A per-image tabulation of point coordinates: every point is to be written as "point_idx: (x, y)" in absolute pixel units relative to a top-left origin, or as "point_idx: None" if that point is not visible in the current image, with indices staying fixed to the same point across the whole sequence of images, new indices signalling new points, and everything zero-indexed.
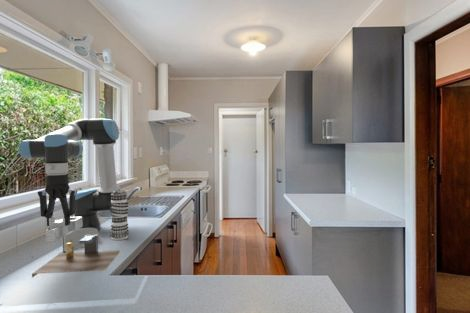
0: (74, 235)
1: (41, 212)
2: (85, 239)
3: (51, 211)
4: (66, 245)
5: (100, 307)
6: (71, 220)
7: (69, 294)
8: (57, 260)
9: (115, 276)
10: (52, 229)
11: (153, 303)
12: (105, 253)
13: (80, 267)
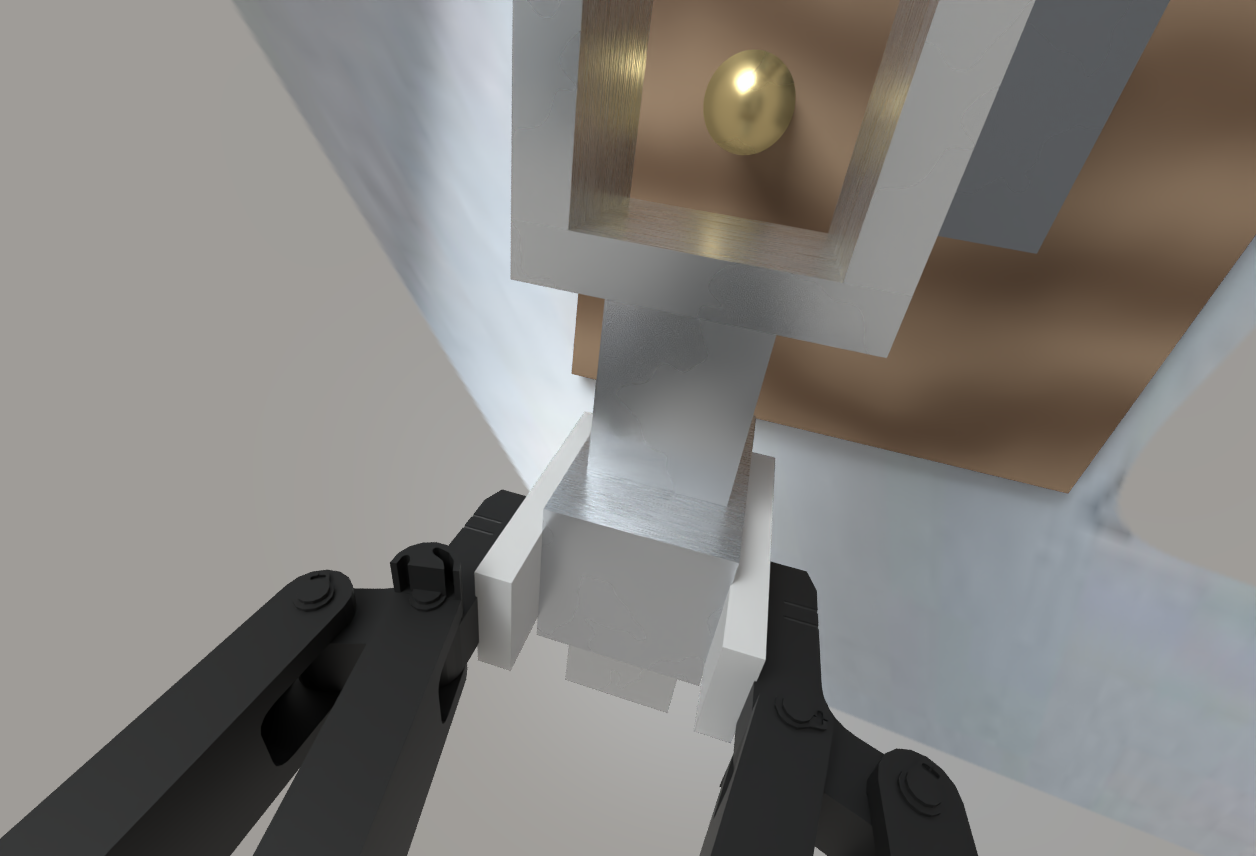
0: None
1: (279, 720)
2: (981, 186)
3: (426, 752)
4: (720, 143)
5: (975, 759)
6: (798, 295)
7: (837, 627)
8: (658, 152)
9: (1120, 551)
10: (635, 693)
11: (1217, 833)
12: (1174, 56)
13: (878, 382)
